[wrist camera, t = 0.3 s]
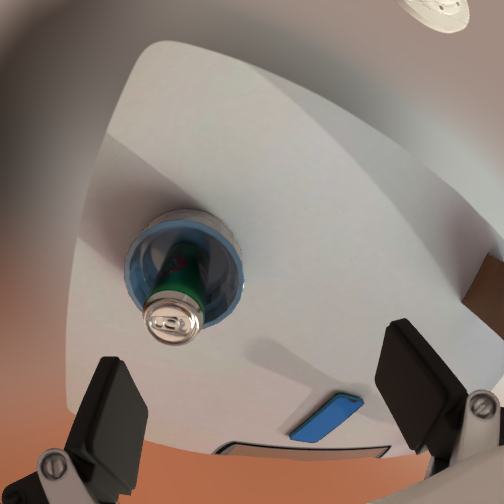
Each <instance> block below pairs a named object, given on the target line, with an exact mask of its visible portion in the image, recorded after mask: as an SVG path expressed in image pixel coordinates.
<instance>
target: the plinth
mask: <svg viewBox="0 0 504 504" xmlns="http://www.w3.org/2000/svg"><path fill="white" fill-rule="evenodd" d="M462 304H464V305H465V306H466V307H467V308H468V309H470V310H471V311H472V312H473V313H474V314H475V315H477V316H478V317H479V318H480V319H481V320H482V321H483V322H484V323H486V324H487V325H488V326H489V327H490V328H491V329H492V330H493V331H494V332H496V333H497V334H498V335H499V336H500V337H501V338H502V339H503V340H504V263H503V262H502V261H500V260H498V259H497V258H495V257H493V256H491V255H490V254H487V256H486V258H485V260H484V262H483V264H482V266H481V268H480V270H479V272H478V274H477V276H476V278H475V280H474V282H473V284H472V286H471V287H470V289H469V291H468V293H467V295H466V296H465V298H464V300H463V302H462Z"/></svg>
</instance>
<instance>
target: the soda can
mask: <svg viewBox="0 0 504 504" xmlns="http://www.w3.org/2000/svg"><path fill="white" fill-rule="evenodd" d="M208 275H209V260H208V257H207V255H206V254H205V252H204V251H203V250H202V249H201V248H200V247H198V246H196V245H193V244H189V243H182V244H178V245H176V246H174V247H172V248H171V249H170V250H169V251H168V253H167V254H166V256H165V259H164V261H163V263H162V265H161V267H160V269H159V271H158V273H157V276H156V278H155V280H154V282H153V284H152V286H151V289H150V291H149V293H148V295H147V298H146V300H145V302H144V305H143V310H142V314H143V319H144V324H145V327H146V330H147V331H148V333H149V334H150V335H151V336H152V337H153V338H154V339H155V340H157V341H158V342H160V343H163V344H165V345H170V346H180V345H184V344H187V343H189V342H190V341H192V340H193V339H194V338H195V336H196V335H197V334H198V333H199V332H200V331H201V329H202V327H203V325H204V319H205V307H206V296H207V285H208Z"/></svg>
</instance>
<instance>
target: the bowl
mask: <svg viewBox="0 0 504 504" xmlns="http://www.w3.org/2000/svg"><path fill="white" fill-rule="evenodd" d="M182 243H189V244H193V245H196V246H198V247H200V248H201V249H202V250H203V251H204V252H205V254H206V255H207V257H208V260H209V275H208V285H207V296H206V307H205V319H204V325H203V327H202V329H205V328H207V327H210V326H212V325H215V324H218V323H219V322H221V321H222V320H223V319H224V318H226V317H227V316H228V315H229V314H231V313H232V311H233V310H234V308H235V307H236V305H237V304H238V302H239V301H240V299H241V296H242V292H243V288H244V283H245V279H244V270H243V262H242V256H241V250H240V247H239V245H238V243H237V240H236V238H235V236H234V234H233V233H232V232H231V231H230V230H229V228H228V227H227V226H226V225H225V224H224V223H223V222H222V221H220V220H219V219H217V218H215V217H213V216H211V215H210V214H208V213H206V212H202V211H197V210H191V209H182V210H175V211H170V212H167V213H165V214H163V215H161V216H159V217H157V218H155V219H154V220H153V221H152V222H151V223H150V224H149V225H148V226H147V227H146V228H145V229H144V230H143V231H142V232H141V234H140V235H139V236H138V237H137V238H136V239H135V241H134V242H133V243H132V244H131V246H130V249H129V251H128V253H127V256H126V258H125V263H124V280H125V283H126V287H127V290H128V293H129V296H130V297H131V299H132V300H133V302H134V303H135V305H136V306H137V308H138V309H139V310H140V311H141V312H142V310H143V305H144V302H145V300H146V298H147V295H148V293H149V291H150V289H151V286H152V284H153V282H154V280H155V278H156V276H157V273H158V271H159V269H160V267H161V265H162V263H163V261H164V259H165V256H166V254H167V253H168V251H169V250H170V249H171V248H172V247H174V246H176V245H178V244H182Z"/></svg>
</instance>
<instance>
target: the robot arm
mask: <svg viewBox="0 0 504 504" xmlns="http://www.w3.org/2000/svg"><path fill="white" fill-rule="evenodd" d="M420 1H421V2H422V3H424V4H425V5H426V6H428V7H429V8H431V9H432V10H434V11H436V12H438V13H441V14H444V15H452V14H455V13H457V12H458V11H459V10H460V8H461V0H420ZM375 384H376V386H377V388H378V390H379V392H380V393H381V395H382V397H383V399H384V401H385V403H386V404H387V406H388V408H389V410H390V412H391V414H392V416H393V417H394V419H395V421H396V423H397V425H398V427H399V429H400V431H401V433H402V435H403V437H404V438H405V440H406V442H407V444H408V446H409V448H410V449H411V450H415V452H416V454H417V455H418V454H421V453H423V452H425V451H427V450H429V452H430V454H431V459H430V462H429V466H428V469H427V472H426V475H425V478H424V480H423V481H421V482H418V483H416V484H414V485H412V486H409V487H407V488H405V489H402V490H400V491H398V492H395V493H393V494H390V495H388V496H385V497H382V498H380V499H377V500H374V501H371V502H368V503H366V504H504V407H500V402H499V400H498V398H497V397H496V396H495V395H494V394H493V393H492V392H490V391H487V390H476V391H474V392H472V393H471V394H470V395H468V393H467V390H466V389H465V388H464V386H463V385H462V384H461V382H460V381H459V380H458V379H457V377H456V376H455V375H454V374H453V372H452V371H451V370H450V369H449V367H448V366H447V365H446V364H445V362H444V361H443V360H442V359H441V358H440V356H439V355H438V354H437V353H436V352H435V350H434V349H433V348H432V347H431V346H430V345H429V343H428V342H427V341H426V340H425V339H424V337H423V336H422V335H421V334H420V333H419V332H418V331H417V329H416V328H415V327H414V326H413V325H412V324H411V323H410V321H409V320H408V319H406V318H403V319H399V320H395V321H392V322H391V323H390V325H389V326H388V327H387V328H386V331H385V336H384V341H383V345H382V350H381V354H380V358H379V363H378V367H377V370H376V374H375ZM147 419H148V409H147V406H146V404H145V402H144V401H143V399H142V397H141V395H140V393H139V391H138V389H137V387H136V385H135V383H134V381H133V379H132V377H131V375H130V373H129V371H128V369H127V367H126V365H125V363H124V361H122V360H120V359H119V358H118V357H102V358H101V359H100V362H99V364H98V366H97V368H96V370H95V373H94V375H93V377H92V379H91V382H90V384H89V386H88V389H87V391H86V394H85V395H84V398H83V400H82V402H81V405H80V407H79V410H78V412H77V415H76V418H75V420H74V423H73V425H72V428H71V431H70V433H69V437H68V439H67V442H66V445H65V448H64V450H61V449H58V448H51V449H48V450H46V451H45V452H43V453H42V454H41V455H40V456H39V458H38V461H37V466H36V467H37V471H36V472H34V473H32V474H30V475H28V476H26V477H24V478H22V479H20V480H18V481H16V482H14V483H12V484H10V485H8V486H7V487H6V488H5V489H4V491H3V494H2V504H120V503H119V502H118V496H119V494H124V495H131V490H132V489H135V487H136V482H137V476H138V469H139V463H140V457H141V451H142V445H143V440H144V434H145V429H146V424H147ZM0 504H1V503H0Z"/></svg>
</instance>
